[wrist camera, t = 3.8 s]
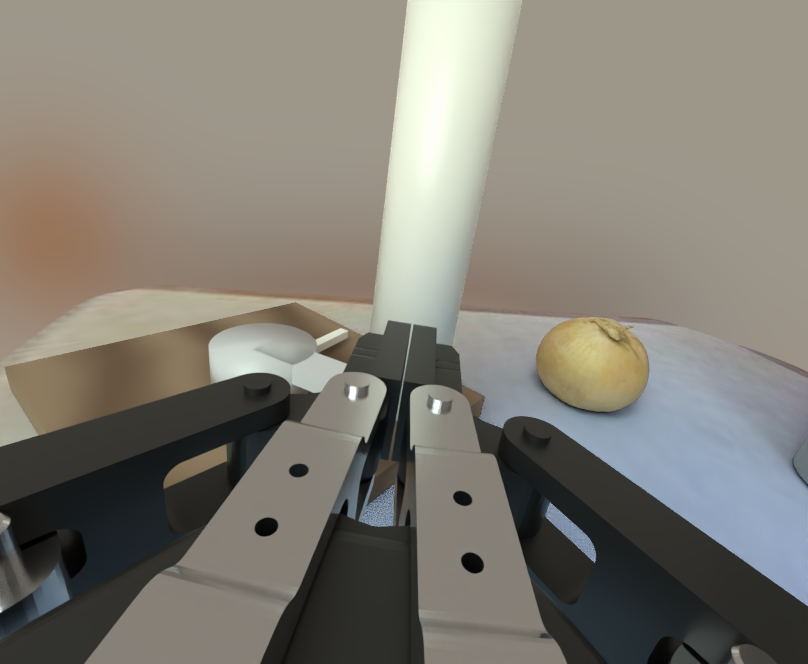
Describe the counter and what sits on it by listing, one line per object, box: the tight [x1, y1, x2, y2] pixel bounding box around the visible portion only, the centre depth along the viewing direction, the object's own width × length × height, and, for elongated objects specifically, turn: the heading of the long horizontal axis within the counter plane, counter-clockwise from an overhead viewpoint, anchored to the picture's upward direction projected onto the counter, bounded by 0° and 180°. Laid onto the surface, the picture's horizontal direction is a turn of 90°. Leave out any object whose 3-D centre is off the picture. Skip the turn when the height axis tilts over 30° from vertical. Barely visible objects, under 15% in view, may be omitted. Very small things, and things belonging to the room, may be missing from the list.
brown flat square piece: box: [5, 303, 485, 504], centre depth 26 cm, size 20×20×2 cm
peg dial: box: [208, 0, 523, 421], centre depth 21 cm, size 11×14×20 cm
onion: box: [536, 317, 649, 412], centre depth 31 cm, size 8×8×7 cm
